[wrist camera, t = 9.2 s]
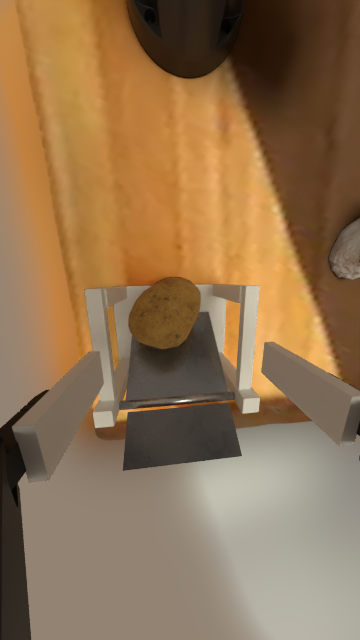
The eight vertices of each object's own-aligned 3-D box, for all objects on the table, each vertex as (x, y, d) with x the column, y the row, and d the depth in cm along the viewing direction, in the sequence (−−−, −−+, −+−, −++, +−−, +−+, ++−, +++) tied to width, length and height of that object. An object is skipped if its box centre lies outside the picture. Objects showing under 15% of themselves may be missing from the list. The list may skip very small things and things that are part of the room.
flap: (133, 325, 31) (129, 311, 28) (208, 322, 33) (213, 308, 29) (119, 467, 19) (110, 472, 16) (240, 453, 21) (253, 454, 17)
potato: (123, 347, 25) (102, 312, 20) (166, 298, 33) (158, 265, 28) (177, 368, 21) (166, 331, 16) (212, 307, 29) (211, 269, 24)
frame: (112, 286, 29) (67, 290, 15) (225, 284, 31) (275, 285, 17) (122, 380, 33) (94, 450, 19) (221, 373, 35) (260, 431, 21)
